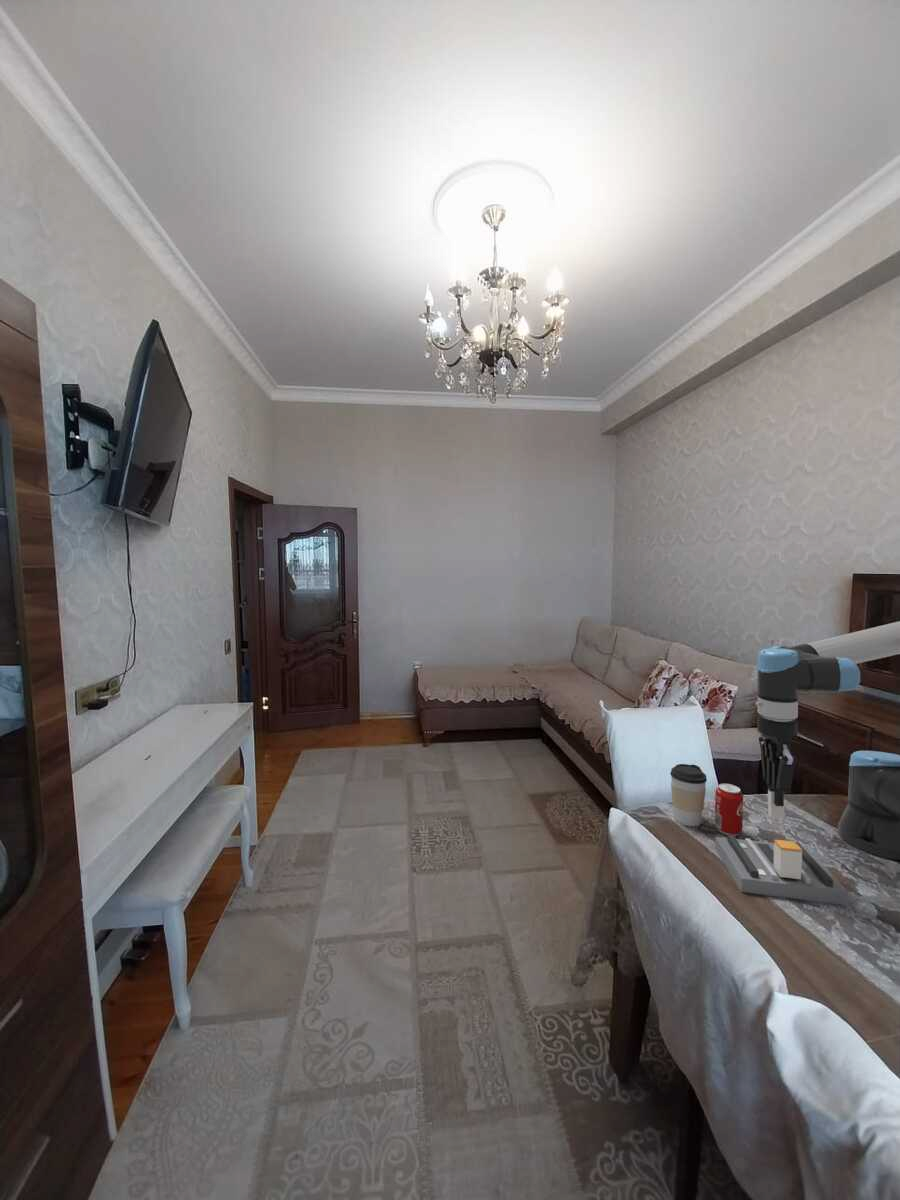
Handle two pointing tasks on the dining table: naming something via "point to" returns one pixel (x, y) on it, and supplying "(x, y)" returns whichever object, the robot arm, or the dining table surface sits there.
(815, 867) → the dark grey bar
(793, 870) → the orange-topped grey block
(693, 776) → the coffee cup
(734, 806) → the beverage can
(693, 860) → the dining table surface
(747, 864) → the dark grey rail
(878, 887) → the dining table surface
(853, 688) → the robot arm
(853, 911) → the dining table surface
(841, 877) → the dining table surface
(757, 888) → the panel
